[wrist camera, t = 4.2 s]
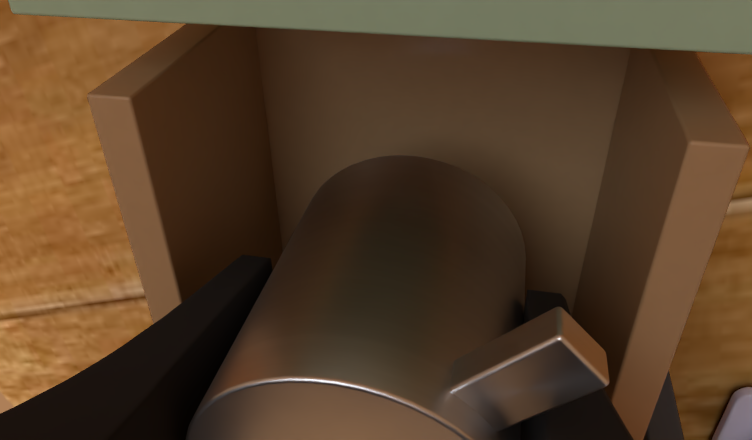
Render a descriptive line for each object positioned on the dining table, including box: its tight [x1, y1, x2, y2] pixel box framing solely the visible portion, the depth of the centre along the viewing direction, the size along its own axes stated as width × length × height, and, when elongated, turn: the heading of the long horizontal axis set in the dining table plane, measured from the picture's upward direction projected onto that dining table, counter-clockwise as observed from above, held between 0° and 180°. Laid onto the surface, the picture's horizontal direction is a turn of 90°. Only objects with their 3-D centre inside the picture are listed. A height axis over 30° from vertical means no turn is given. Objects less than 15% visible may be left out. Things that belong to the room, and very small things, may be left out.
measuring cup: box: [186, 155, 609, 440], centre depth 11 cm, size 7×5×6 cm
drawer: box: [8, 0, 752, 440], centre depth 13 cm, size 18×11×7 cm, turn 178°
